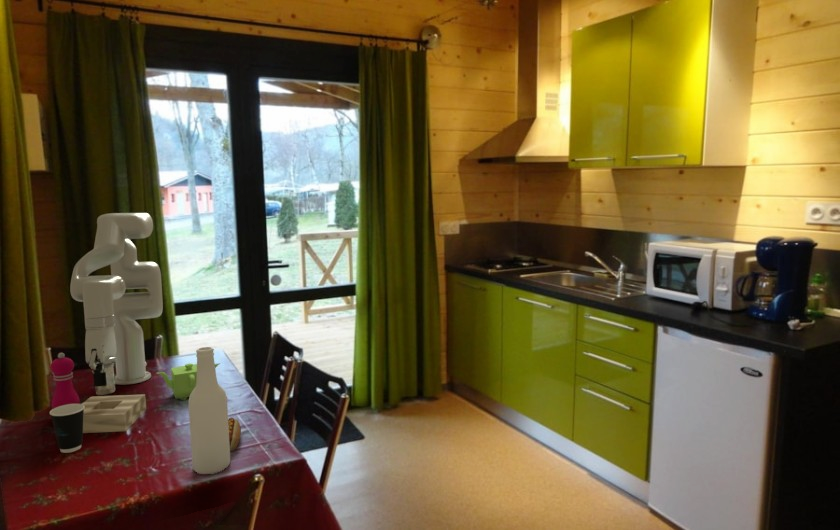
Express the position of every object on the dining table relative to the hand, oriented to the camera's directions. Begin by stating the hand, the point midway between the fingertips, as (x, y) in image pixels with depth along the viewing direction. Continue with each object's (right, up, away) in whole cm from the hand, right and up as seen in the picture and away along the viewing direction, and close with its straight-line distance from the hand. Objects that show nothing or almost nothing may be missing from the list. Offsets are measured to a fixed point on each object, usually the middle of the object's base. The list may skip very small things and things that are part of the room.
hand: (104, 382), depth 169 cm
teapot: (+16, -9, +23) cm, 30 cm away
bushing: (0, -3, 0) cm, 3 cm away
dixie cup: (0, -15, -16) cm, 22 cm away
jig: (0, -12, +2) cm, 12 cm away
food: (+41, -14, -13) cm, 45 cm away
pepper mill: (-14, -12, +5) cm, 19 cm away
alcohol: (+41, -16, -27) cm, 52 cm away
